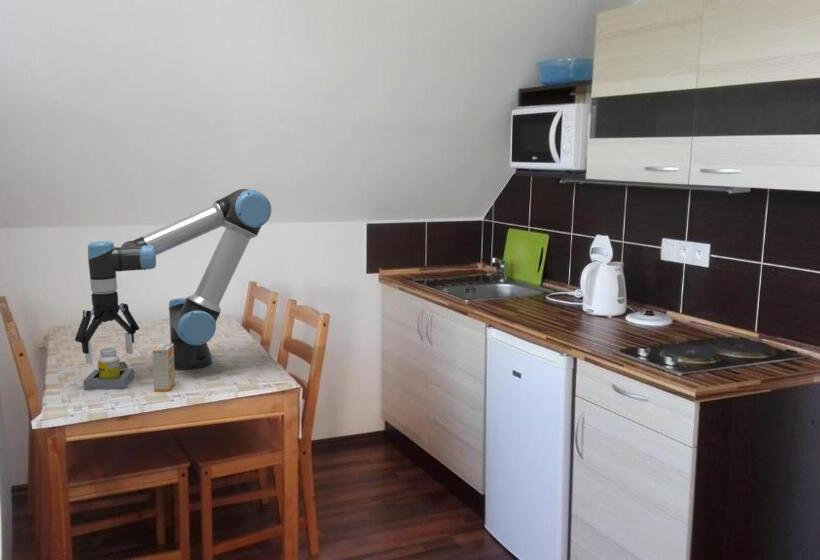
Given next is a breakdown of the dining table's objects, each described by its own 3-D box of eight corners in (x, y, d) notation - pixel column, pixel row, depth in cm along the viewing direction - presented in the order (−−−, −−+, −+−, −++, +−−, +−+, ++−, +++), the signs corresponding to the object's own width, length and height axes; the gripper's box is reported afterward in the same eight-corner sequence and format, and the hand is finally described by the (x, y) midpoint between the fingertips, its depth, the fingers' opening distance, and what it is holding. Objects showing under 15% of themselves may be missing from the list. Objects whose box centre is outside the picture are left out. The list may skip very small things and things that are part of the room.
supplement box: (169, 391, 228) (167, 349, 225) (153, 391, 227) (151, 349, 225) (176, 383, 236) (174, 342, 234) (160, 383, 235) (158, 343, 233)
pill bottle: (96, 382, 236) (94, 348, 234) (116, 379, 239) (114, 345, 238) (103, 387, 231) (101, 352, 229) (123, 383, 235) (121, 349, 233)
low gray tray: (125, 389, 230) (124, 379, 229) (84, 391, 228) (83, 380, 228) (141, 370, 251) (140, 360, 251) (103, 371, 250) (103, 361, 249)
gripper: (133, 284, 242) (138, 347, 246) (58, 296, 223) (65, 365, 227) (147, 286, 238) (152, 351, 241) (71, 299, 218) (78, 369, 222)
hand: (110, 358), depth 234 cm, fingers open, 13 cm apart
